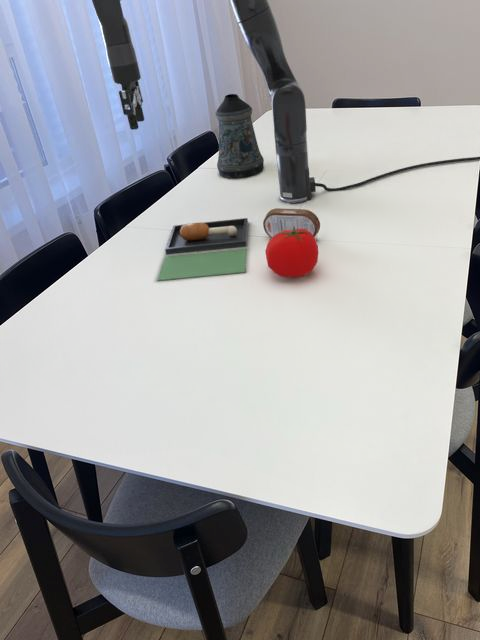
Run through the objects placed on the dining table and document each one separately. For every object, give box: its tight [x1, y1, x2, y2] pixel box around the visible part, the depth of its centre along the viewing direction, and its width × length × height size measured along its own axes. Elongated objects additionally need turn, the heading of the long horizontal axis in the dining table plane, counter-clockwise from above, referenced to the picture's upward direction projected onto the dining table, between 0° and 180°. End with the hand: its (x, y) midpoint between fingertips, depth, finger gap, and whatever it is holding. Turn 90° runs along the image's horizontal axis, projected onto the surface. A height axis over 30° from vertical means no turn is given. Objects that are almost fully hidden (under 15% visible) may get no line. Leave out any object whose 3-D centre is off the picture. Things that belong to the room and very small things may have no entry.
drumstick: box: [180, 222, 237, 241], centre depth 158 cm, size 16×5×5 cm, turn 89°
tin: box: [262, 207, 321, 239], centre depth 151 cm, size 15×3×8 cm, turn 71°
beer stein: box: [215, 93, 265, 180], centre depth 197 cm, size 16×19×25 cm
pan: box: [164, 217, 249, 256], centre depth 159 cm, size 22×16×2 cm
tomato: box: [265, 226, 319, 278], centre depth 135 cm, size 13×12×11 cm
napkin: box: [157, 247, 248, 282], centre depth 147 cm, size 22×13×1 cm, turn 89°
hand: (137, 125), depth 162 cm, fingers open, 8 cm apart
